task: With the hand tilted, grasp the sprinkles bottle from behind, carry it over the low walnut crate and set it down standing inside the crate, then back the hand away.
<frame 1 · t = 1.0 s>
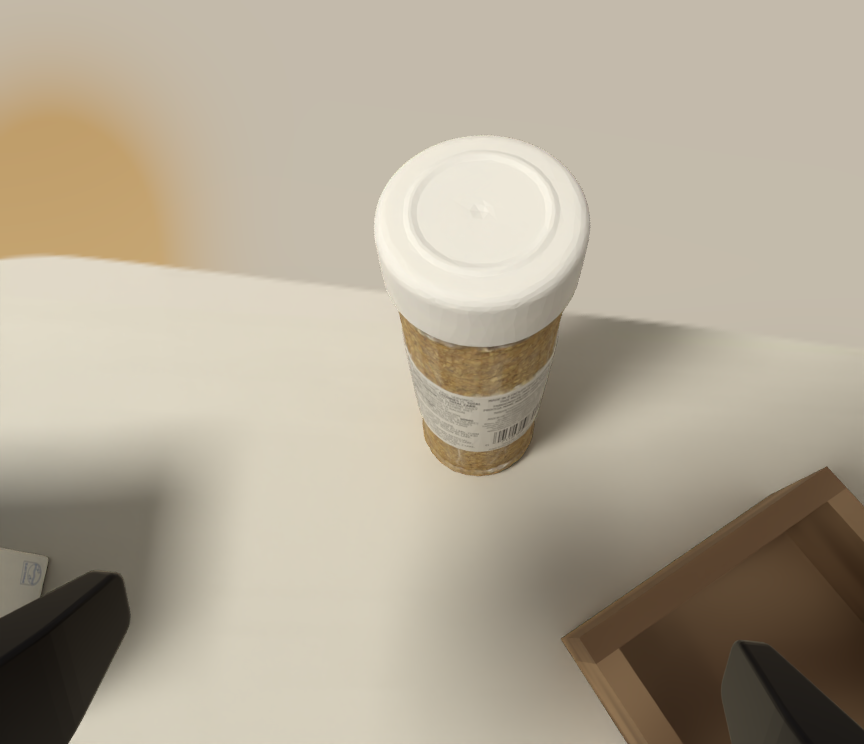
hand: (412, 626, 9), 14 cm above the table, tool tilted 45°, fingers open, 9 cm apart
crate: (765, 692, 20), on the table
sprinkles bottle: (477, 426, 25), on the table
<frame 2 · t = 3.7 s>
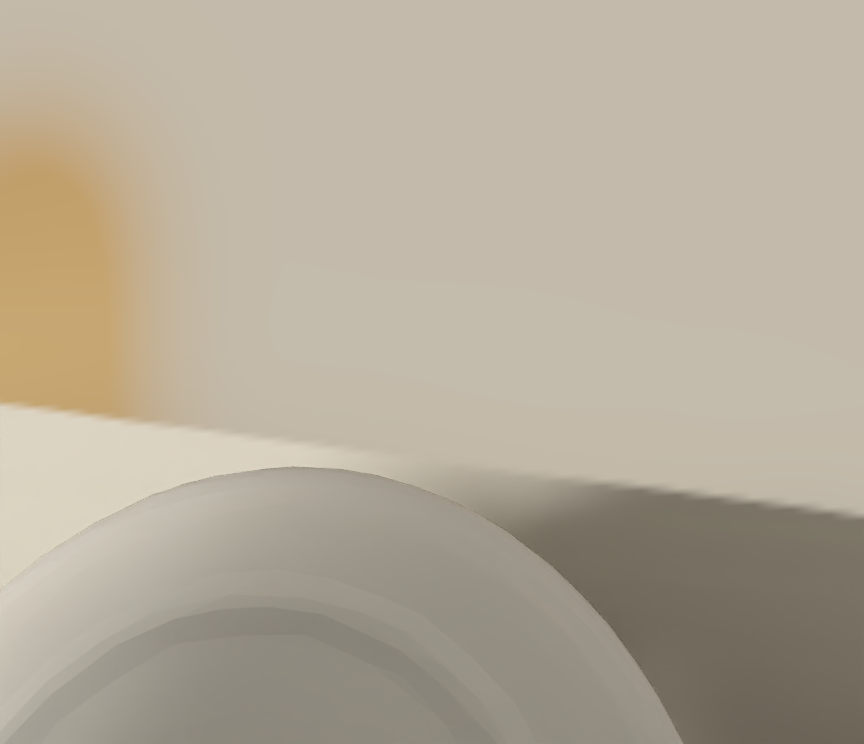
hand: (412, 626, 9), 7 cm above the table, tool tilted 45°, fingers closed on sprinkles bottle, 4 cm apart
sprinkles bottle: (432, 689, 15), on the table, touching gripper
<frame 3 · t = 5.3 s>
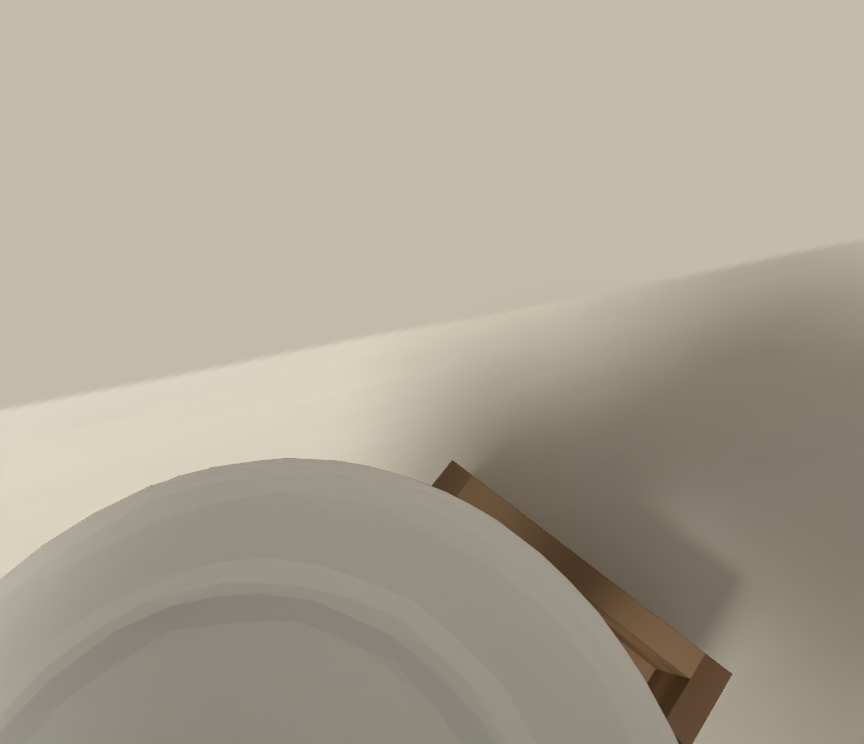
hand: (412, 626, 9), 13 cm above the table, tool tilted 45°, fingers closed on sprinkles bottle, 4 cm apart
crate: (481, 687, 20), on the table
sprinkles bottle: (433, 687, 15), point 6 cm above the table, touching gripper
when the fingers open (8 cm above the table, at t = 6.9 s): sprinkles bottle stays where it is, resting on crate.
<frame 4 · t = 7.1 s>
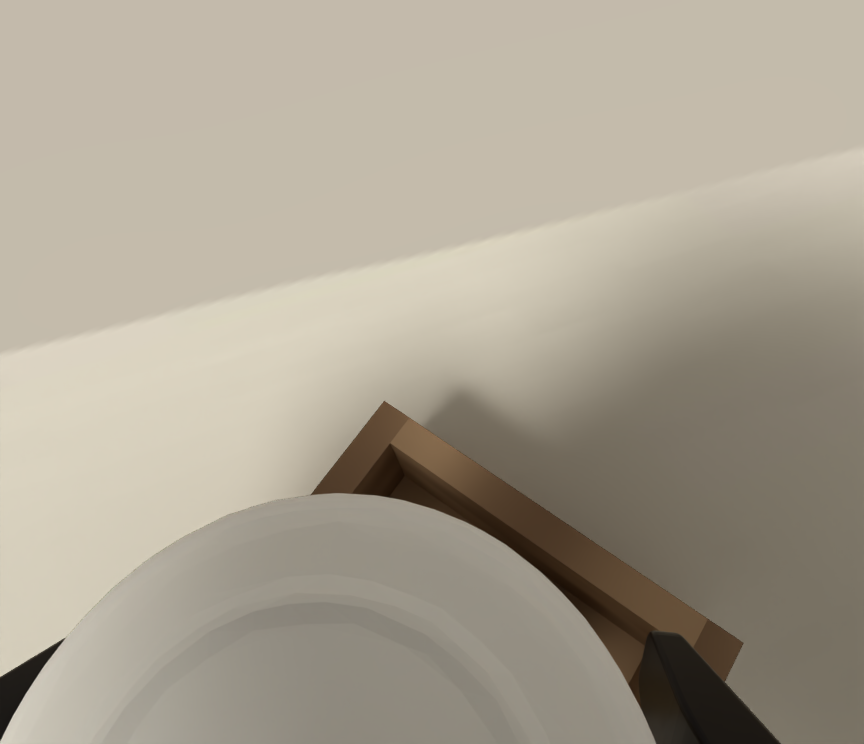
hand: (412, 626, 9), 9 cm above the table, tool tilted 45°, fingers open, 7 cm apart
crate: (436, 683, 16), on the table
sprinkles bottle: (435, 694, 16), resting on crate
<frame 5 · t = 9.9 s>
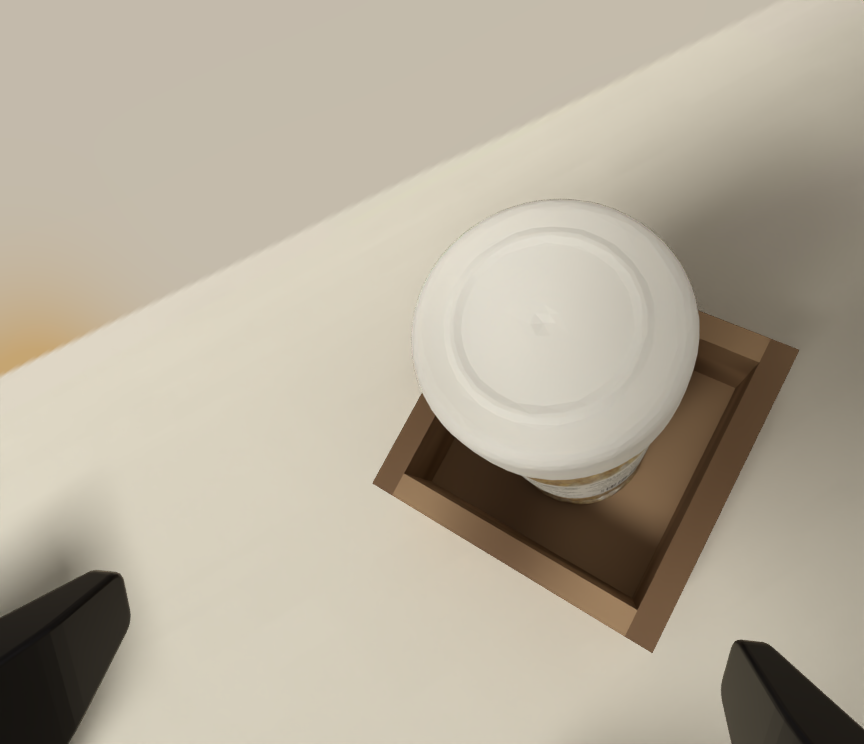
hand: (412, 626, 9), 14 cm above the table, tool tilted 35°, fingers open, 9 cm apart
crate: (577, 439, 22), on the table
sprinkles bottle: (577, 443, 22), resting on crate
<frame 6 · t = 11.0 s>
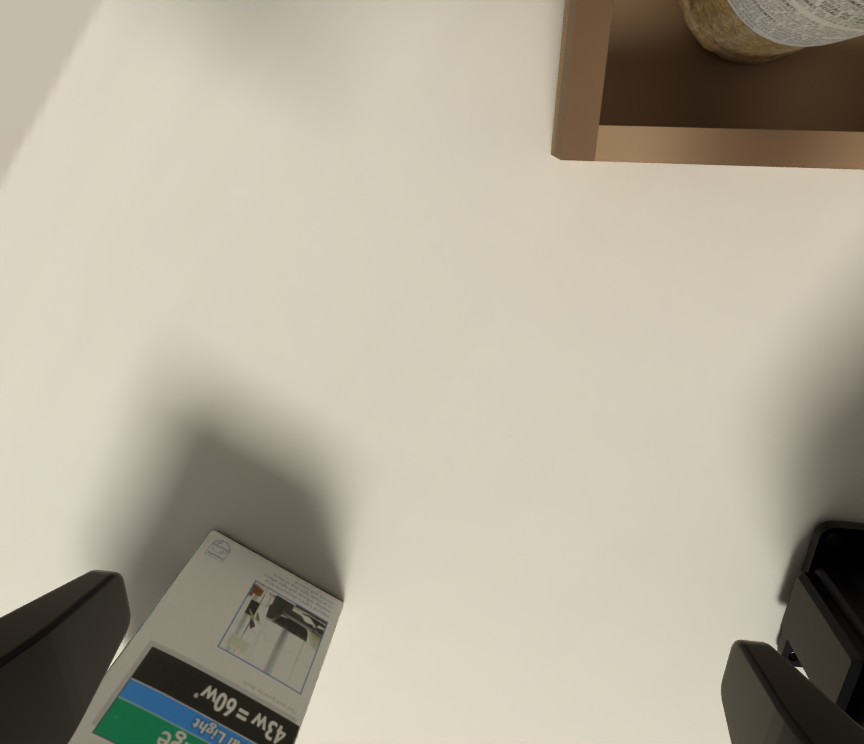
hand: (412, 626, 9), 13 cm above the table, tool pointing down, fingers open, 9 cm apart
light bulb box: (236, 635, 28), on the table
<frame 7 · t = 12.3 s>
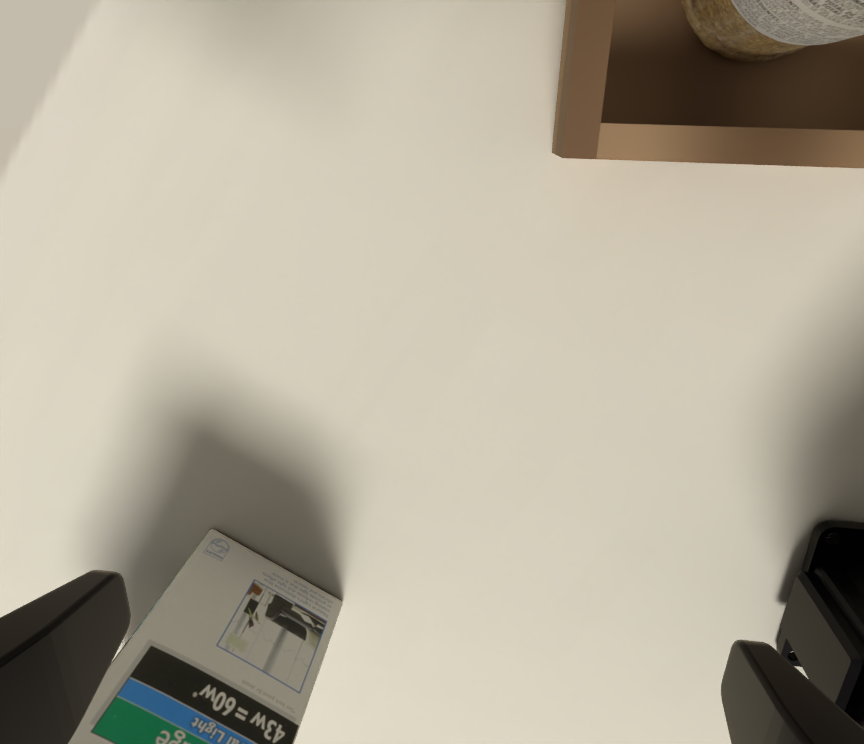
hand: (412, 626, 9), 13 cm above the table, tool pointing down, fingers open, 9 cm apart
light bulb box: (235, 634, 28), on the table
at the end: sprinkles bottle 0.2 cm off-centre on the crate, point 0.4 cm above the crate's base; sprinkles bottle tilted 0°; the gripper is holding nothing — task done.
